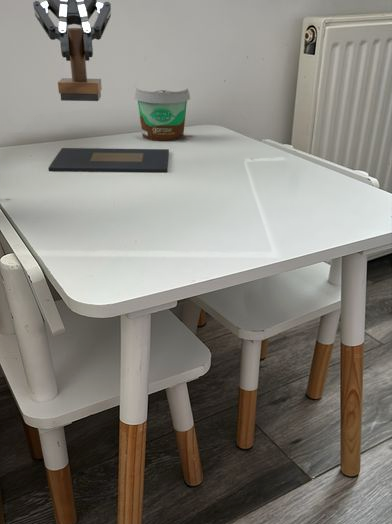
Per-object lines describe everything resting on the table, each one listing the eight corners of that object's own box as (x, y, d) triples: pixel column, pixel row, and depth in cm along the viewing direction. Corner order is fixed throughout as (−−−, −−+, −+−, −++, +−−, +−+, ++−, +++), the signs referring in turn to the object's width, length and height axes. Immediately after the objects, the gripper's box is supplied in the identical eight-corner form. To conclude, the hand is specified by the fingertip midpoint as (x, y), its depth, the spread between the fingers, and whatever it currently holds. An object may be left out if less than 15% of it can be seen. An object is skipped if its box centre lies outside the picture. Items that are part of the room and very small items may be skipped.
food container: (140, 143, 121) (138, 93, 115) (135, 136, 126) (133, 88, 120) (195, 141, 123) (196, 92, 118) (189, 134, 128) (189, 87, 123)
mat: (48, 171, 103) (48, 167, 103) (62, 150, 115) (61, 147, 115) (167, 172, 104) (167, 168, 104) (168, 152, 116) (168, 149, 115)
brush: (59, 100, 99) (51, 29, 92) (63, 96, 102) (56, 27, 96) (99, 101, 99) (93, 30, 93) (102, 96, 102) (97, 27, 96)
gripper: (109, -12, 103) (118, 72, 100) (30, -13, 100) (38, 72, 97) (108, -48, 95) (119, 41, 92) (24, -50, 93) (32, 41, 90)
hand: (77, 57), depth 95 cm, fingers closed on brush, 2 cm apart
